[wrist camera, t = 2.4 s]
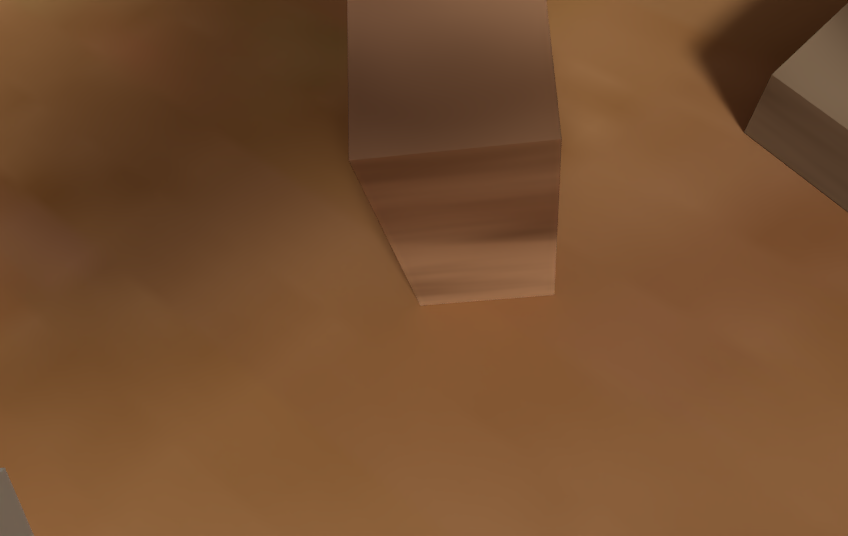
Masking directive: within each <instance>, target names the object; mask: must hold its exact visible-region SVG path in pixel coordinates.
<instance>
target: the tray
mask: <svg viewBox="0 0 848 536" xmlns="http://www.w3.org/2000/svg"><path fill="white" fill-rule="evenodd" d="M744 133H745V134H747V135H748V136H749V137H751V138H752V139H753V140H755V141H756V142H757V143H759V144H760V145H761V146H762V147H764V148H765V149H766V150H768V151H769V152H770V153H772V154H773V155H774V156H776V157H777V158H778V159H779V160H781V161H782V162H783V163H785V164H786V165H787V166H789V167H790V168H791V169H793V170H794V171H795V172H796V173H798V174H799V175H800V176H802V177H803V178H804V179H806V180H807V181H808V182H810V183H811V184H812V185H813V186H815V187H816V188H817V189H819V190H820V191H821V192H823V193H824V194H825V195H827V196H828V197H829V198H830V199H832V200H833V201H834V202H836V203H837V204H838V205H840V206H841V207H842V208H844V209H845V210H846V211H847V212H848V3H847V4H846V5H845V6H844V7H843V8H842V9H841V10H840V11H839V12H838V13H837V14H835V15H834V16H833V17H832V18H831V19H830V20H829V21H828V22H827V23H826V24H825V25H824V26H823V27H822V28H821V29H820V30H818V31H817V32H816V33H815V34H814V35H813V36H812V37H811V38H810V39H809V40H808V41H807V42H806V43H805V44H804V45H803V46H801V47H800V48H799V49H798V50H797V51H796V52H795V53H794V54H793V55H792V56H791V57H790V58H789V59H788V60H787V61H786V62H784V63H783V64H782V65H781V66H780V67H779V68H778V69H777V70H776V71H775V72H774V73H773V74H772V75H771V77H770V79H769V81H768V83H767V85H766V88H765V90H764V92H763V94H762V96H761V98H760V100H759V102H758V104H757V106H756V108H755V110H754V113H753V115H752V117H751V119H750V121H749V123H748V125H747V127H746V129H745V131H744Z"/></svg>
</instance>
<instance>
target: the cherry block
mask: <svg viewBox="0 0 848 536" xmlns="http://www.w3.org/2000/svg"><path fill="white" fill-rule="evenodd" d="M347 21H348V133H349V162H350V164H351V166H352V168H353V170H354V172H355V174H356V176H357V178H358V180H359V182H360V184H361V186H362V188H363V190H364V192H365V194H366V197H367V199H368V201H369V203H370V205H371V207H372V209H373V211H374V213H375V215H376V217H377V219H378V221H379V223H380V225H381V227H382V229H383V231H384V233H385V235H386V237H387V239H388V241H389V243H390V245H391V247H392V249H393V251H394V253H395V255H396V257H397V259H398V261H399V263H400V265H401V267H402V269H403V271H404V273H405V276H406V278H407V280H408V282H409V284H410V286H411V288H412V290H413V292H414V294H415V296H416V298H417V300H418V302H419V304H420V305H432V304H445V303H457V302H470V301H483V300H496V299H508V298H521V297H534V296H546V295H554V290H555V269H556V248H557V226H558V205H559V184H560V162H561V141H562V138H561V129H560V120H559V111H558V102H557V93H556V83H555V74H554V65H553V56H552V47H551V38H550V29H549V20H548V11H547V1H546V0H347Z"/></svg>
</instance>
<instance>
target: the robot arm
mask: <svg viewBox="0 0 848 536" xmlns="http://www.w3.org/2000/svg"><path fill="white" fill-rule="evenodd" d="M0 536H34V535H33V533H32V530H31V528H30V526H29V523H28V521H27V519H26V516H25V514H24V512H23V509H22V507H21V505H20V502H19V500H18V498H17V495H16V493H15V491H14V488H13V486H12V484H11V481H10V479H9V477H8V474H7V472H6V470H5V468H0Z"/></svg>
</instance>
